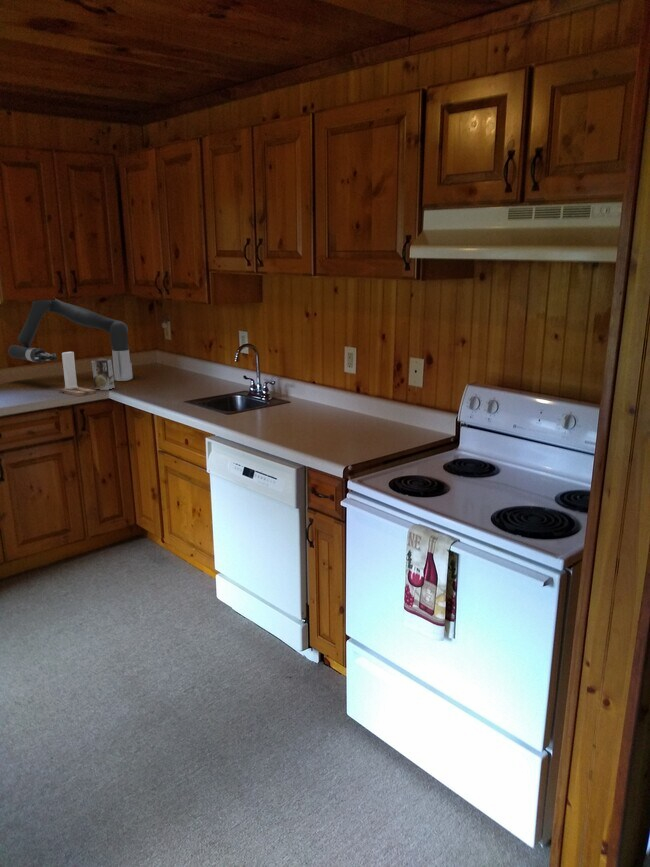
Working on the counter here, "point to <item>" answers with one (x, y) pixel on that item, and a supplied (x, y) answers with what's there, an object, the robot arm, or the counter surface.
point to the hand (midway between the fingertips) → (55, 358)
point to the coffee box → (103, 374)
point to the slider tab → (69, 370)
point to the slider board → (78, 391)
